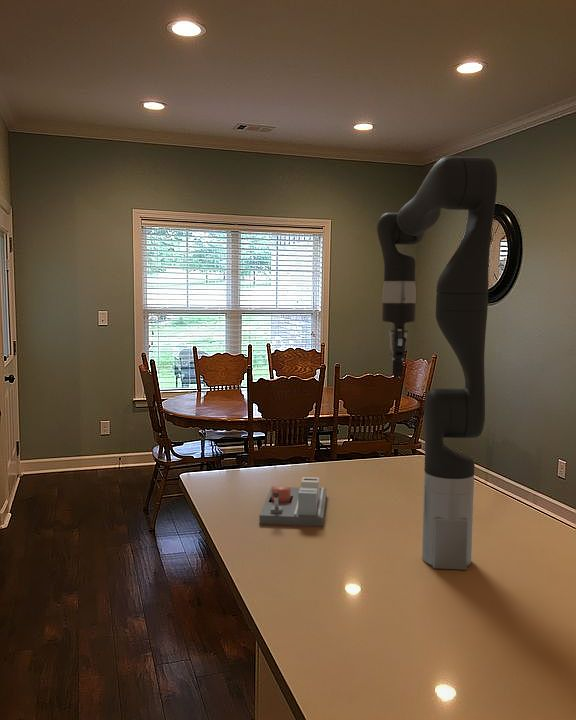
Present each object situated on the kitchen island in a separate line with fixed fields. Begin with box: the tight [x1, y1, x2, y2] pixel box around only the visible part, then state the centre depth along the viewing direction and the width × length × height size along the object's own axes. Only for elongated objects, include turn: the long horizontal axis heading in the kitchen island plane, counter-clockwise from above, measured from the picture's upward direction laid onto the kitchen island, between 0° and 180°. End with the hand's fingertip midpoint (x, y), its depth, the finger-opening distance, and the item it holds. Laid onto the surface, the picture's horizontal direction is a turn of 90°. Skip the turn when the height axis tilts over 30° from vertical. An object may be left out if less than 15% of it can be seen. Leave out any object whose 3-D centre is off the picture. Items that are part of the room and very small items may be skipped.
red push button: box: [270, 485, 291, 503], centre depth 154 cm, size 5×5×4 cm
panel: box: [258, 486, 327, 528], centre depth 152 cm, size 22×14×7 cm, turn 174°
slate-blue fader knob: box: [298, 487, 317, 516], centre depth 144 cm, size 4×4×5 cm
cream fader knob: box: [300, 476, 320, 503], centre depth 153 cm, size 4×4×5 cm
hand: (397, 376), depth 149 cm, fingers closed
